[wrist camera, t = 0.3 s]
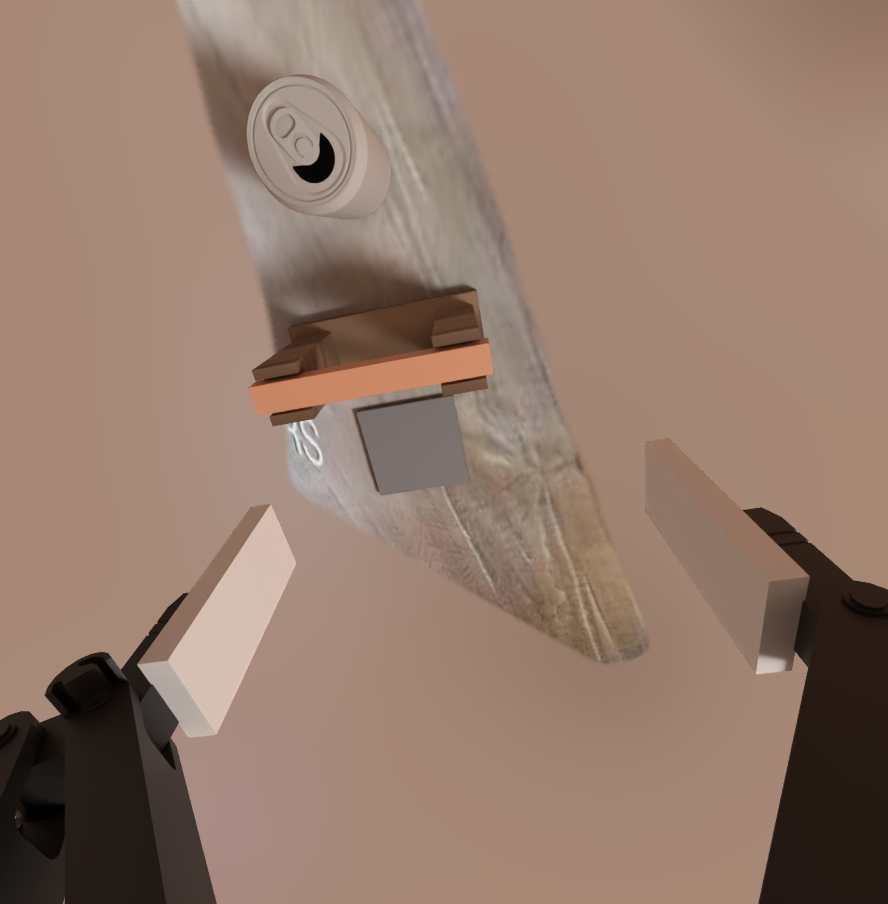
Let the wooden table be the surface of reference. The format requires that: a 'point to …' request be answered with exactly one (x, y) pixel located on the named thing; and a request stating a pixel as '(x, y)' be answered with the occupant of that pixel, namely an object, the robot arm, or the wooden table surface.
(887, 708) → the robot arm
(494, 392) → the wooden table surface
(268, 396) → the crossbar
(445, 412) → the rubber mat
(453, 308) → the walnut stand
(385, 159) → the beverage can
